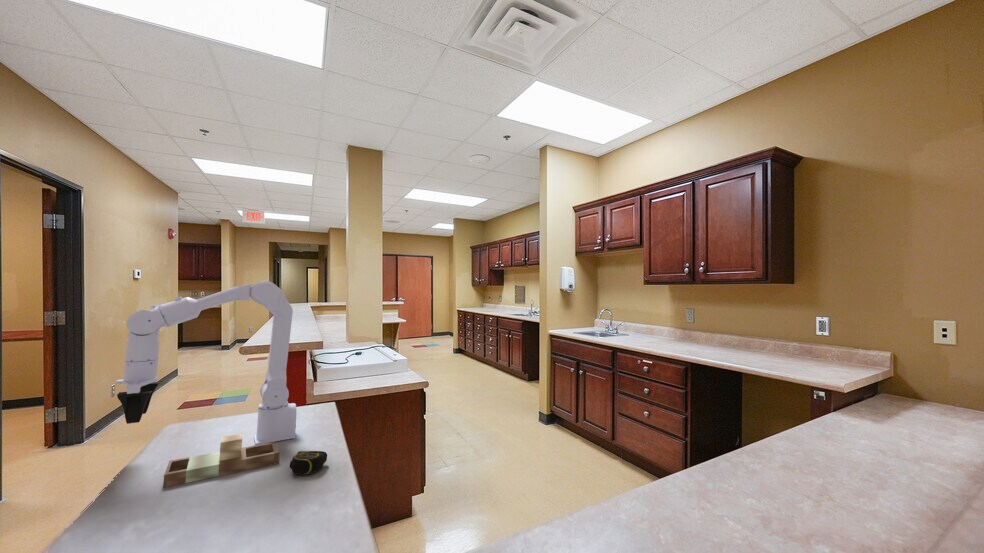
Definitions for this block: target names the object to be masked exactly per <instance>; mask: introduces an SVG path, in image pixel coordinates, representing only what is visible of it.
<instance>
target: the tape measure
mask: <svg viewBox="0 0 984 553" xmlns="http://www.w3.org/2000/svg"><path fill="white" fill-rule="evenodd" d="M327 460H328V454H327V452H326V451H322V450H305V451H304V450H303V451H302V450H301V451H297V453H296V454H294V455H293V457H292V459H291V460H290V462H289V468H290V469H291V472H292V474H294V475H310V474H314V473H316V472H318V471H320V470H321V469H323V467H324V465H325V463H326V462H327Z"/></svg>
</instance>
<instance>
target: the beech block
mask: <svg viewBox="0 0 984 553" xmlns="http://www.w3.org/2000/svg"><path fill="white" fill-rule="evenodd" d="M242 444H243V433H237V434H231V435H225V436H221V437H220V444H219V445H220V448H219V452H220V458H219V461H222V460H227V459H232V458H237V457H241V448H243V447H242V446H243V445H242Z"/></svg>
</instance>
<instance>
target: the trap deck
mask: <svg viewBox="0 0 984 553" xmlns="http://www.w3.org/2000/svg"><path fill="white" fill-rule="evenodd" d="M279 450H280V449H279V448H278V444H277V441H275V442H270V443H264V444H258V445H250V446H245V447H242V448H241V457H237V458H232V459H227V460H222V461H219V458H220V451H216V452H210V453H205V454H199V455H194V456H188V457H184V458H178V459H177V458H175V459H171V460H169V461H168V463H167V466H166V468H165V469H166V470H165V472H164V474H163V482H162V483H163V484H162V485H163V486H162V488H163V489H164V488H167V487H173V486H177V485H181V484H186V483H187V484H188V483H191V482H196V481H201V480H206V479H210V478H214V477H221V476H224V475H229V474H235V473H239V472H244V471H249V470H253V469H257V468H259V469H260V468H262V467H267V466H272V465H278V464H279V463H280V462H279V460H280V451H279Z"/></svg>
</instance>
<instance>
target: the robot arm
mask: <svg viewBox="0 0 984 553" xmlns="http://www.w3.org/2000/svg"><path fill="white" fill-rule="evenodd" d="M250 299H251V300H252V301H253V302H255V303H257V304H259V305H260V306H263V307H265V309H266V310H267V311H269V312H270V313H271V314H272V316H273V317H272V318H273V319H272V325H271V326H272V327H271V335H270V336H271V337H270V343H269V354H268V360H267V361H268V362H267V370H266V374H265V379H264V382H263V384H262V386H261V387H260V390H259V393H260V396H261V399H262V400H261V402H260V403H259V404H258V409H257V411H258V412H257V425H256V433H254V435H253V439H254V444H255V445H260V444H266V443H271V442H280V441H286V440H292V439H296V429H297V404H296V403H295V402H292V403H289V401H288V399H289V396H290V393H289V392H290V391H289V389H288V387H287V381H288V380H287V378H288V377H287V365H288V358H289V347H290V340H291V332H292V330H291V329H292V321H293V312H294V311H293V306H292V305H291V304H290V302H289V301H288V299H287V297H286V296H285V294H284V292H283V290H282V289H281V288H280V287H278V285H276V284H275V283H274V282H272V281H269V280H263V281H259V282H257V283H254V282H252V283H247V284H242V285H236V286H234V287H231V288H228V289H225V290H222V291H218V292H216V293H212V294H210V295H206V296H203V297H200V298H197V299H195V298H192V297H189V296H187V297H183V296H177V297H175V298H174V300H173V301H169V302H166V303H163V304H159V305H157V304H153V305H151V306H149V307H150V309H140V310H138V311H136V312H134V313H132V314H131V315H129V317H128V318H127V320H126V327H127V330H129V331H128V335H127V338H128V339H127V342H126V349H125V361H124V369H123V370H124V371H123V378H122V379H117V380H116V381H115V385H123V386H125V387H126V391H120V392H118V393H117V394H116V397H117V399H118V400H119V402H120V404H121V406H122V408H123V412H124V419H125V422H126V424H127V425H128V424H129V425H130V424H135V423H136V424H137V423H140V422H141V420H142V417H143V415H146V413H147V411H148V410H149V406H150V403H151V400H152V397H153V394H154V392H155V391H156V389H157V388H158V385H159V384H160V382H159V381H158V376H157V375H158V366H159V365H158V364H159V354H160V342H161V341H160V329H161V328H163V327H164V328H169V327H173V326H175V325H178V324H181V323H185V322H188V321H191V320H193V319H197V318H198V317H199V316H200V313H201V311H204V310H207V309H211V308H213V307H214V308H215V307H217V306H221V305H223V304H228V303H230V302H234V301H247V302H248V301H249V302H250V301H251V300H250Z"/></svg>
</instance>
